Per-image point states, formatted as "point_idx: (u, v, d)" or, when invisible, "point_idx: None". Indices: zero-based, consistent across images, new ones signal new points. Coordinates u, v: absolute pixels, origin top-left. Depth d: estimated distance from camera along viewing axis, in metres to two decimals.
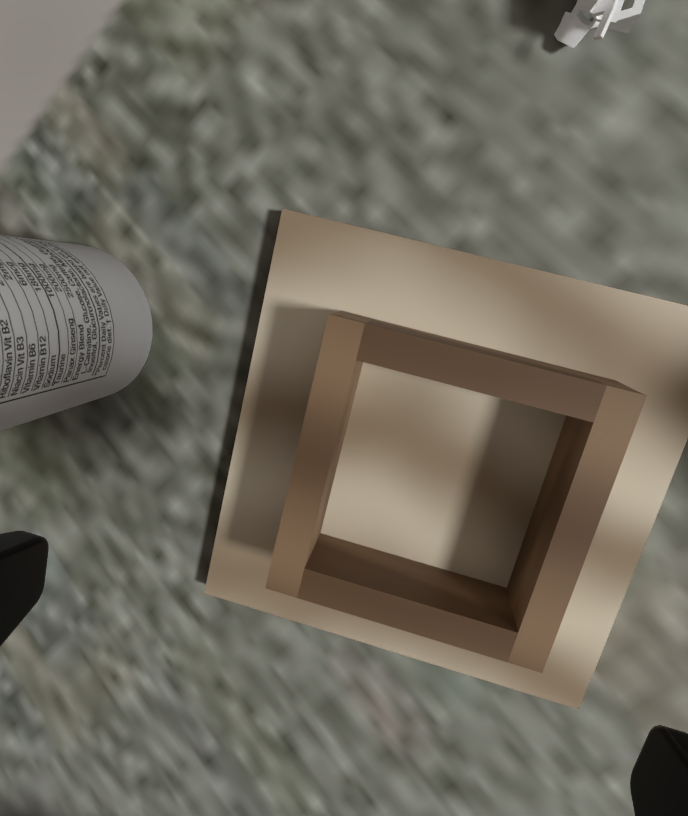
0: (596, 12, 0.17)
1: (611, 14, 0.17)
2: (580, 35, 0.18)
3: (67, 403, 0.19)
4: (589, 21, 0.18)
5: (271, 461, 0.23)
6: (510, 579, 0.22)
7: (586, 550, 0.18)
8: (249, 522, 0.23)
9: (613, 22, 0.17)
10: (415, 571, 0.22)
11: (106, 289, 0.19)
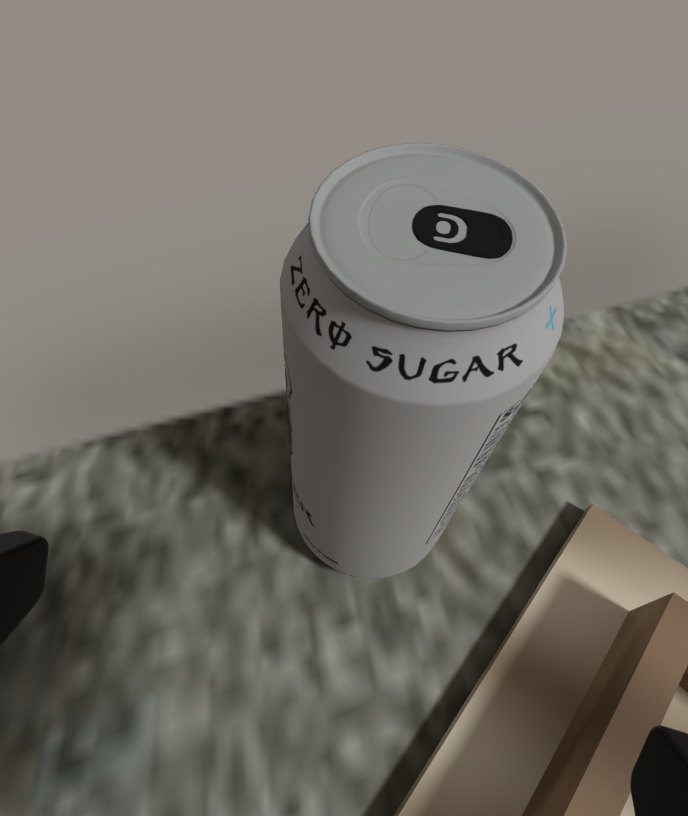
0: None
1: None
2: None
3: (403, 543, 0.18)
4: None
5: (508, 738, 0.19)
6: None
7: None
8: (453, 810, 0.18)
9: None
10: None
11: None
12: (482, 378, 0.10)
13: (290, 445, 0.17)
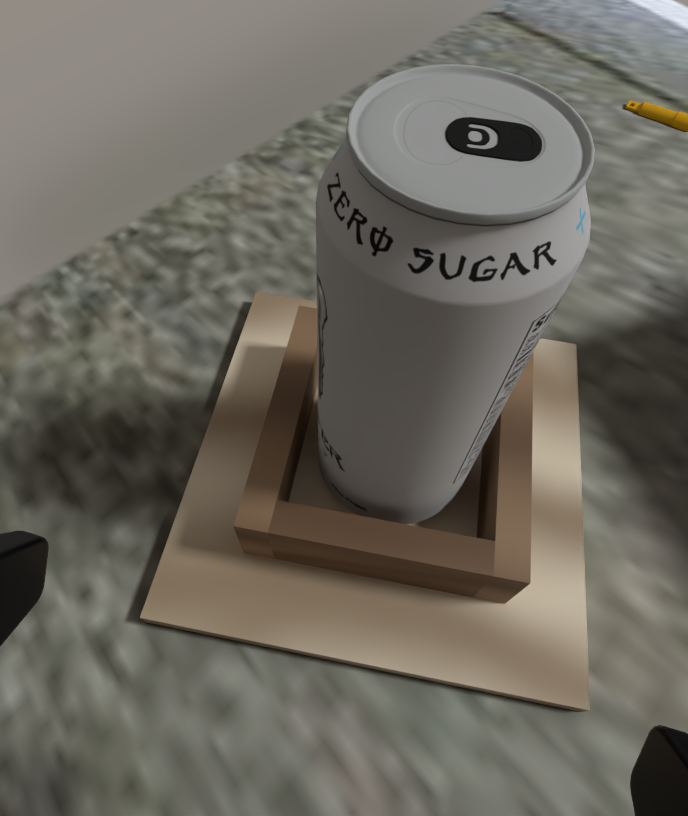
0: None
1: None
2: None
3: (432, 480, 0.18)
4: None
5: (234, 463, 0.24)
6: None
7: (530, 458, 0.21)
8: (206, 525, 0.22)
9: None
10: None
11: None
12: (519, 276, 0.11)
13: (320, 385, 0.17)
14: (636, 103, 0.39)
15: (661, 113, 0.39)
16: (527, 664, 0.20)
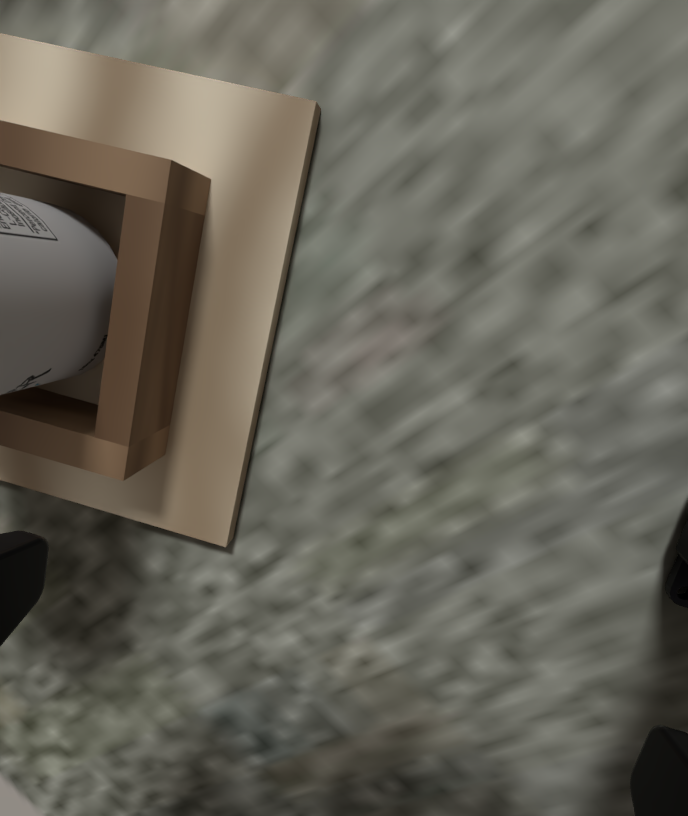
0: None
1: None
2: None
3: (45, 273, 0.15)
4: None
5: None
6: None
7: (25, 126, 0.17)
8: (139, 490, 0.22)
9: None
10: None
11: None
12: None
13: None
14: None
15: None
16: (271, 164, 0.19)
